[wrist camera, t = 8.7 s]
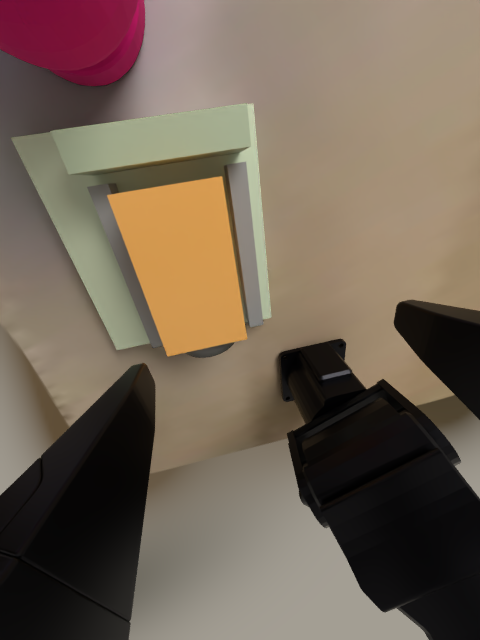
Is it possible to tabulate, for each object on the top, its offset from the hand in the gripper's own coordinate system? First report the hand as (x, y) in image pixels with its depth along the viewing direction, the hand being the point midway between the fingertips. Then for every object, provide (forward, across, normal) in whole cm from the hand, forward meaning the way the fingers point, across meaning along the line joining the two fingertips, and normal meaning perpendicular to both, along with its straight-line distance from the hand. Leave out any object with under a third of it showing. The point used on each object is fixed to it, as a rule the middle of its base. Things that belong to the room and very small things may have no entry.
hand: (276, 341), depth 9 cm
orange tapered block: (+10, +3, -1) cm, 10 cm away
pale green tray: (+11, +4, -2) cm, 12 cm away
